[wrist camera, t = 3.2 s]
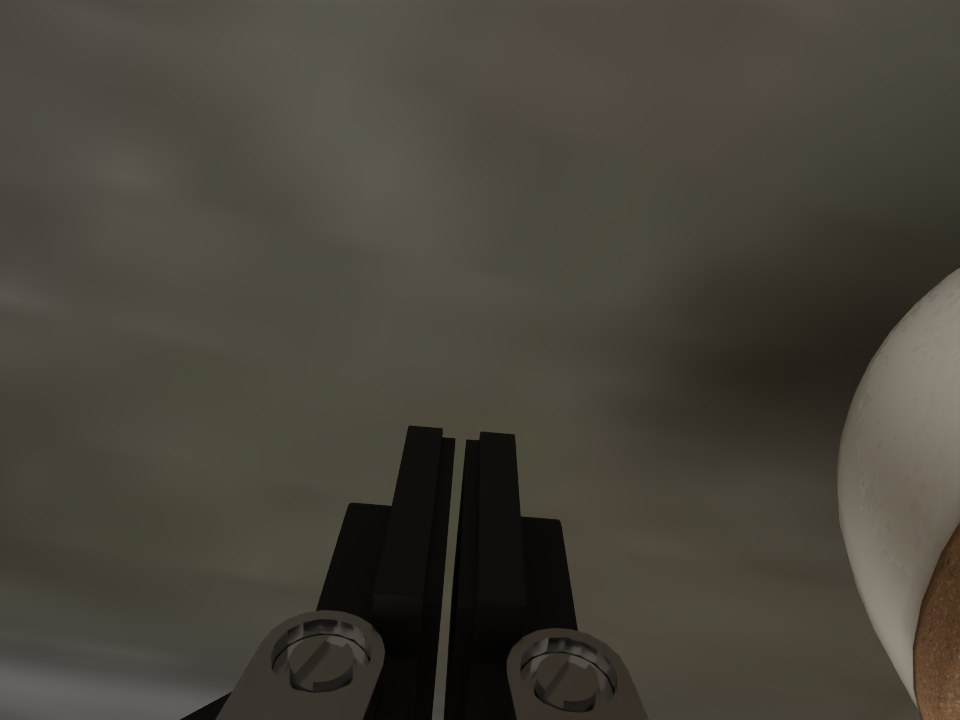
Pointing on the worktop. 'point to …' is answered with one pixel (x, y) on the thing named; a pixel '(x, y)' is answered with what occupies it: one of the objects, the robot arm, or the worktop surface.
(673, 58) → the worktop surface
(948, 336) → the lidded jar
